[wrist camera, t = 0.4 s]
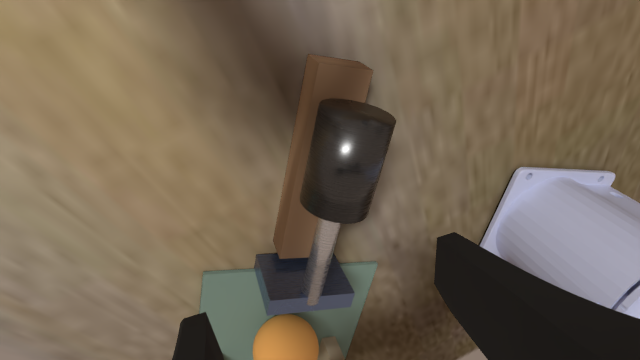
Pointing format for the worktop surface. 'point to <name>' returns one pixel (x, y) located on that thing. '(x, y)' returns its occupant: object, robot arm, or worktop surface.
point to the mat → (249, 315)
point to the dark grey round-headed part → (329, 206)
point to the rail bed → (318, 84)
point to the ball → (286, 339)
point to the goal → (330, 349)
